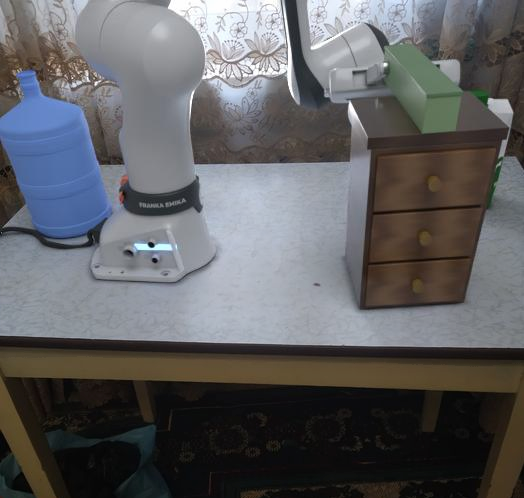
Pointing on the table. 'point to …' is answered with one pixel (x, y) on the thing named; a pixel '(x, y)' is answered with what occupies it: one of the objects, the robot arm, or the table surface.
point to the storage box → (422, 89)
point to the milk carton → (505, 114)
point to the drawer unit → (417, 202)
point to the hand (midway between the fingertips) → (403, 65)
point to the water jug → (54, 162)
